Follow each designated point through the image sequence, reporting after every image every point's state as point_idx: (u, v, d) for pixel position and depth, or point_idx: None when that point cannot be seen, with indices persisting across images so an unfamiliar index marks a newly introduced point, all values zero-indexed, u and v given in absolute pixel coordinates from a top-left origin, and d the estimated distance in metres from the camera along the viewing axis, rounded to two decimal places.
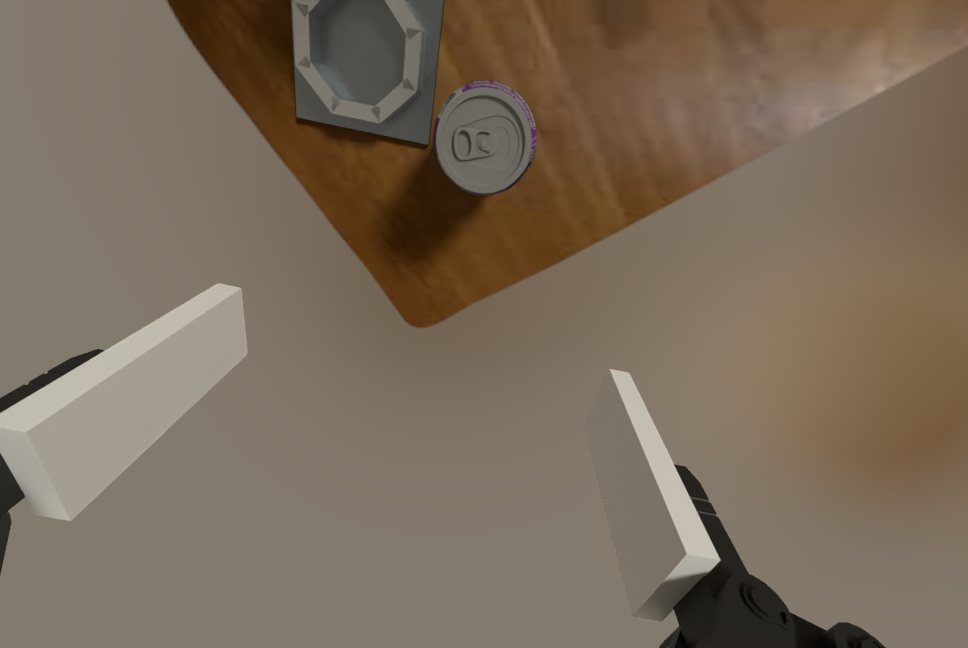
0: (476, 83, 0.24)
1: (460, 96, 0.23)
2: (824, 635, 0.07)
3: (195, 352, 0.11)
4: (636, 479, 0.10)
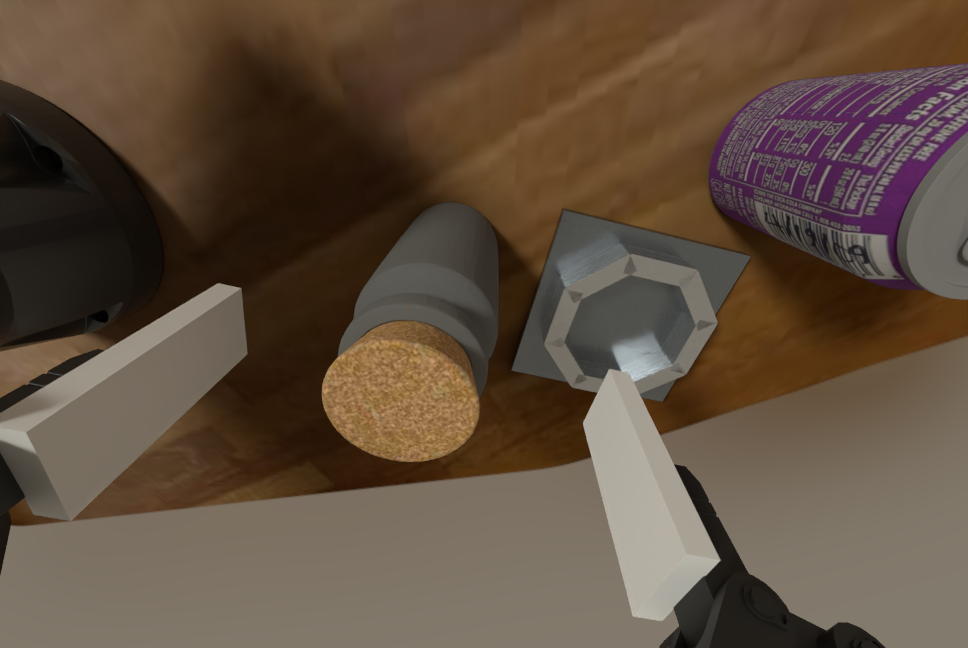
0: (859, 203, 0.12)
1: (911, 245, 0.11)
2: (824, 635, 0.07)
3: (195, 352, 0.11)
4: (636, 479, 0.10)
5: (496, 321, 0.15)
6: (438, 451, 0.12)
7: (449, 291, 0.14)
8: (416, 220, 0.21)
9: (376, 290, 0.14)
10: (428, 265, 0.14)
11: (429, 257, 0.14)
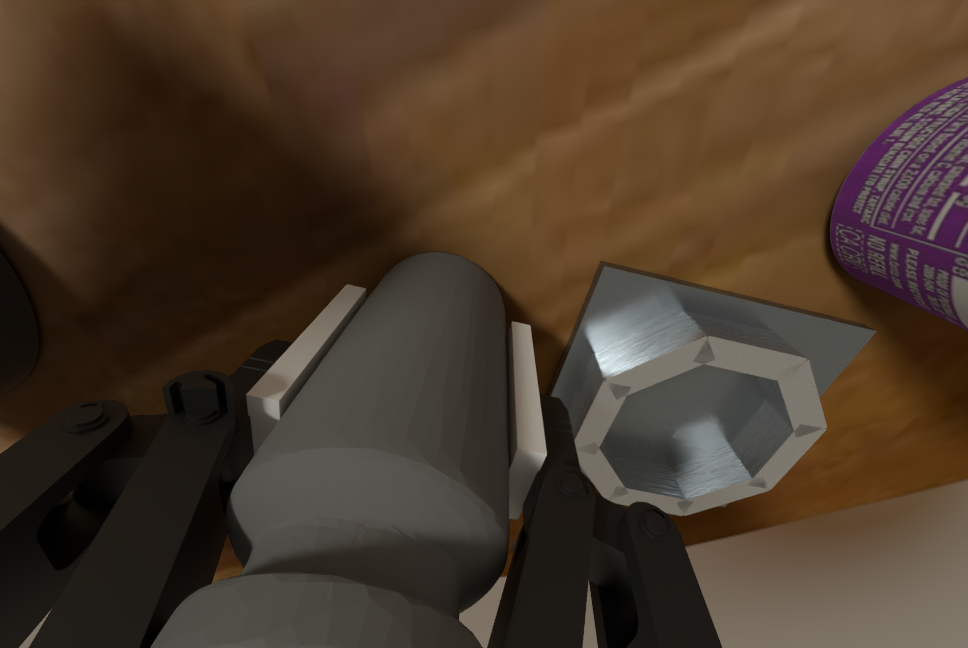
0: None
1: None
2: (621, 519, 0.09)
3: None
4: (508, 405, 0.12)
5: (506, 536, 0.08)
6: None
7: (407, 508, 0.06)
8: (380, 286, 0.13)
9: (255, 497, 0.07)
10: (362, 453, 0.06)
11: (370, 422, 0.07)
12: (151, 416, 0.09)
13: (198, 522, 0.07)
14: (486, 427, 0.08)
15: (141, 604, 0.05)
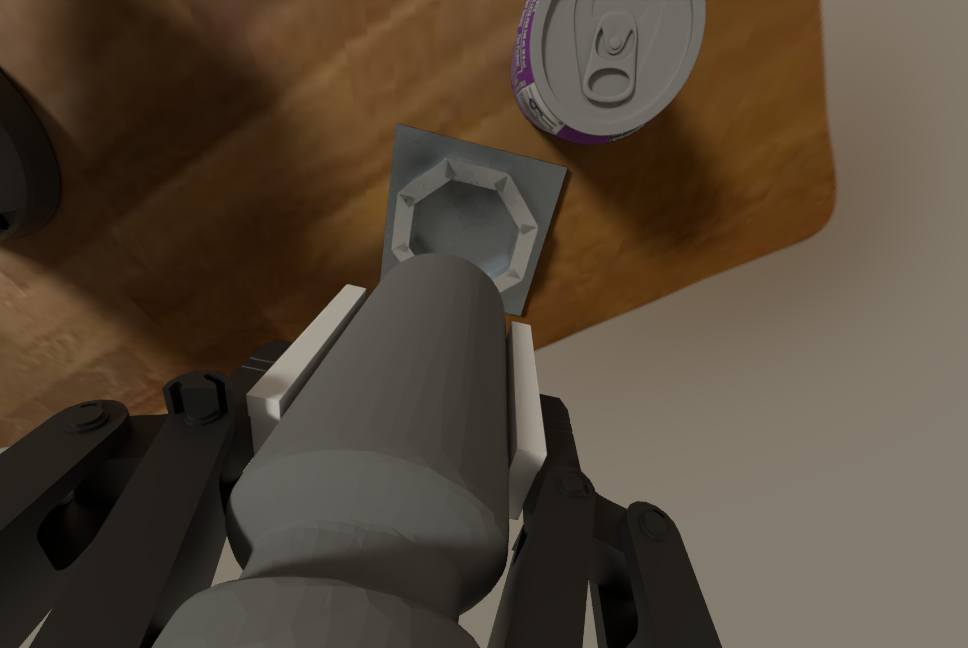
0: (519, 59, 0.15)
1: (539, 83, 0.14)
2: (621, 519, 0.09)
3: None
4: (508, 405, 0.12)
5: (506, 539, 0.07)
6: None
7: (407, 511, 0.06)
8: (380, 287, 0.13)
9: (255, 499, 0.07)
10: (362, 456, 0.06)
11: (369, 424, 0.07)
12: (151, 416, 0.09)
13: (198, 522, 0.07)
14: (486, 429, 0.08)
15: (141, 604, 0.05)
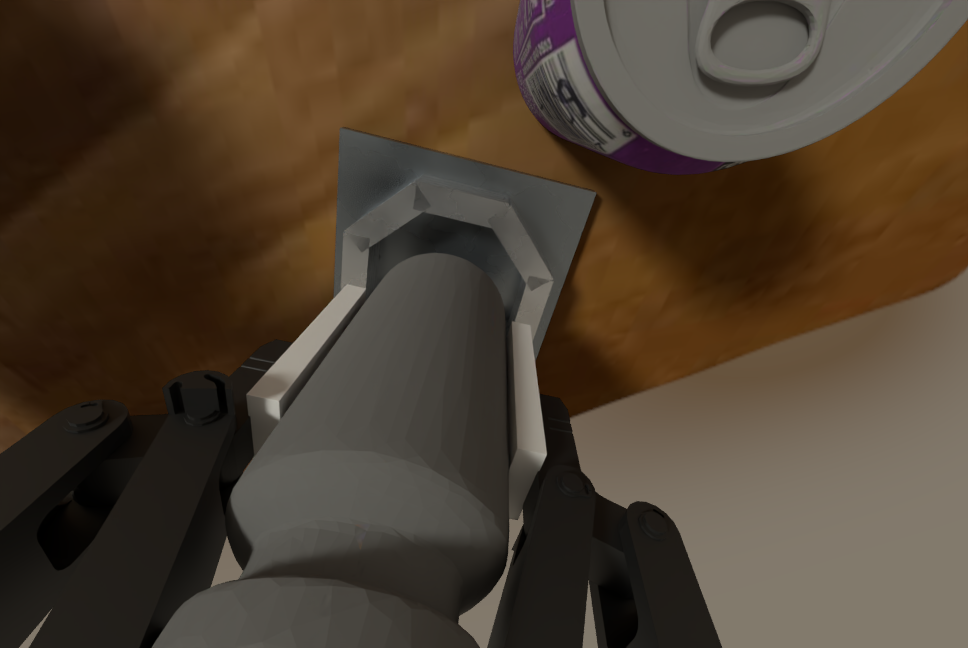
0: None
1: (590, 38, 0.06)
2: (621, 518, 0.09)
3: None
4: (508, 405, 0.12)
5: (506, 539, 0.07)
6: None
7: (406, 511, 0.06)
8: (380, 287, 0.13)
9: (255, 500, 0.07)
10: (361, 456, 0.06)
11: (369, 424, 0.07)
12: (151, 416, 0.09)
13: (198, 522, 0.07)
14: (486, 429, 0.08)
15: (140, 604, 0.05)
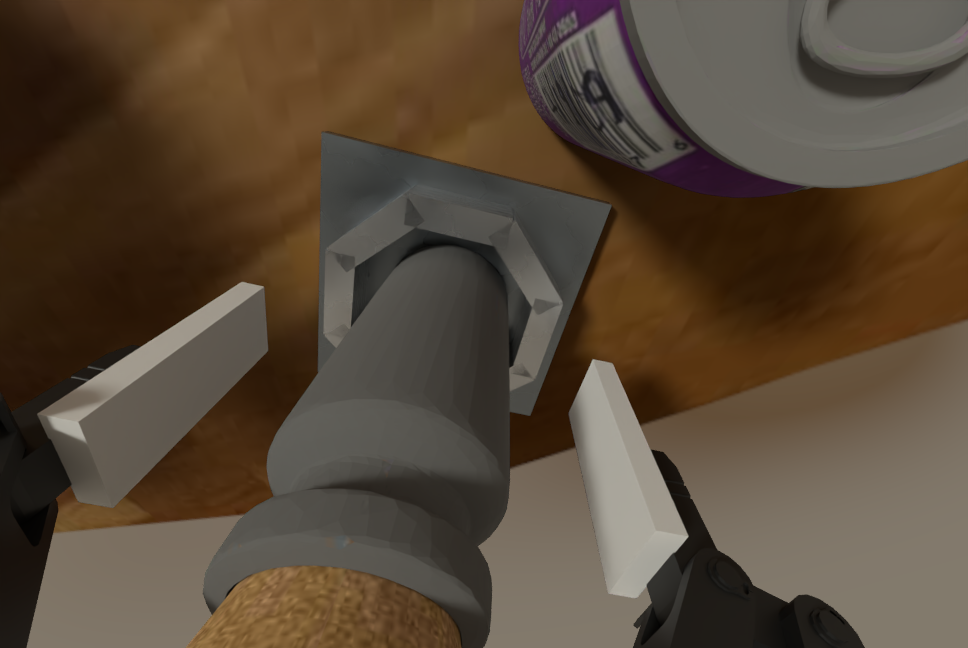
0: None
1: (643, 4, 0.04)
2: (785, 608, 0.08)
3: (222, 348, 0.11)
4: (614, 463, 0.11)
5: (507, 483, 0.09)
6: None
7: (424, 451, 0.08)
8: (394, 274, 0.15)
9: (296, 441, 0.08)
10: (387, 404, 0.08)
11: (392, 380, 0.08)
12: None
13: None
14: (490, 393, 0.10)
15: None
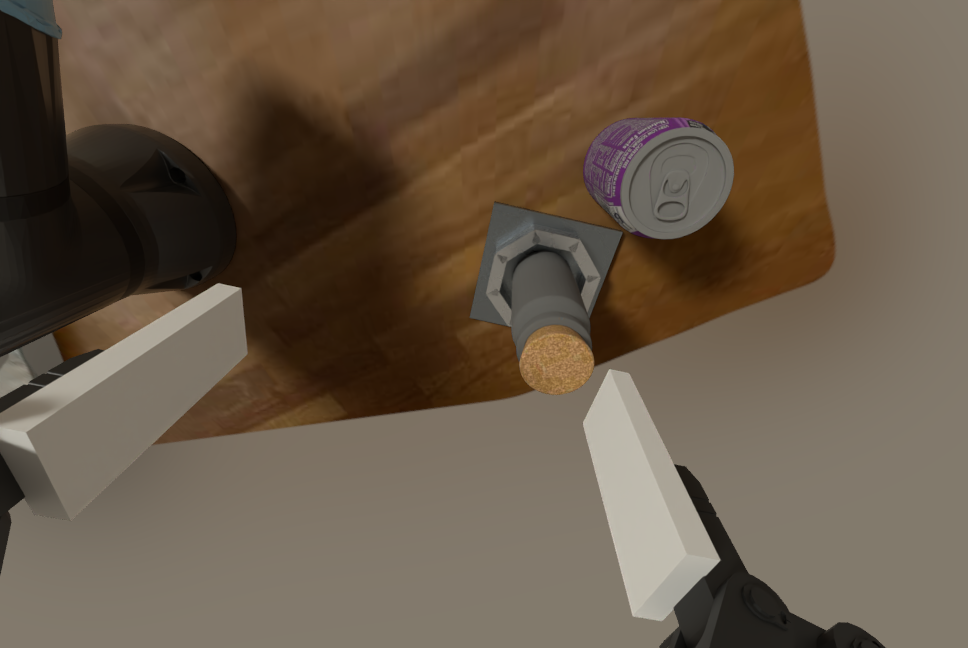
0: (610, 190, 0.24)
1: (626, 210, 0.23)
2: (824, 635, 0.07)
3: (195, 352, 0.11)
4: (636, 479, 0.10)
5: None
6: (570, 388, 0.25)
7: (569, 310, 0.27)
8: (527, 264, 0.34)
9: (529, 309, 0.27)
10: (558, 296, 0.27)
11: (556, 292, 0.27)
12: None
13: None
14: (582, 300, 0.29)
15: None
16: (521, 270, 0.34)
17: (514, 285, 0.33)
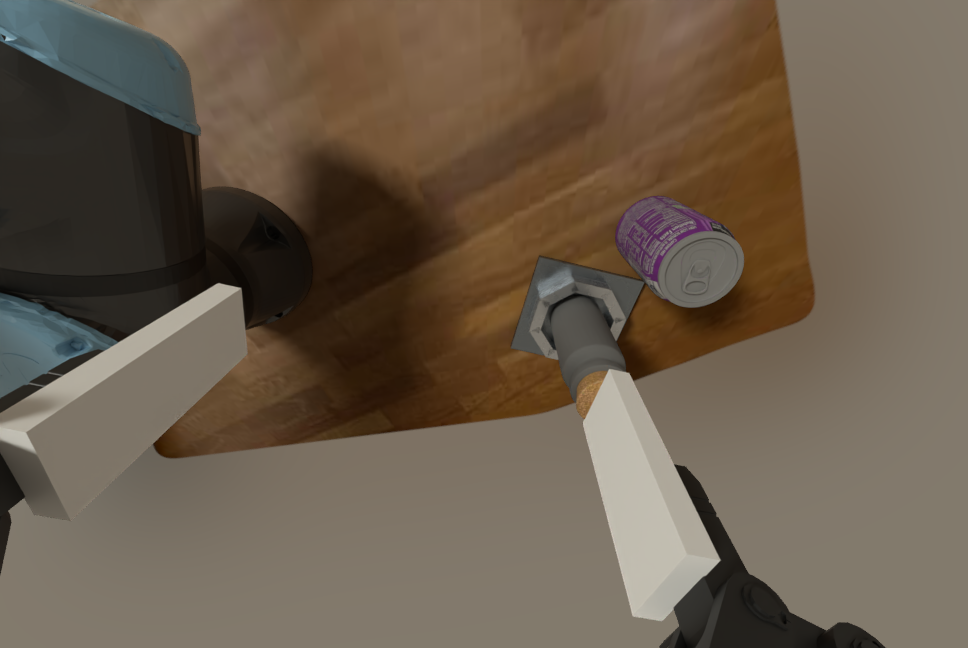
0: (648, 268, 0.31)
1: (661, 286, 0.30)
2: (824, 635, 0.07)
3: (195, 352, 0.11)
4: (636, 479, 0.10)
5: (625, 367, 0.35)
6: None
7: (611, 356, 0.34)
8: (567, 309, 0.41)
9: (579, 355, 0.34)
10: (602, 345, 0.34)
11: (600, 341, 0.34)
12: None
13: None
14: (618, 346, 0.36)
15: None
16: (562, 314, 0.40)
17: (557, 327, 0.40)
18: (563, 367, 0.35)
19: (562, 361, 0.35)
